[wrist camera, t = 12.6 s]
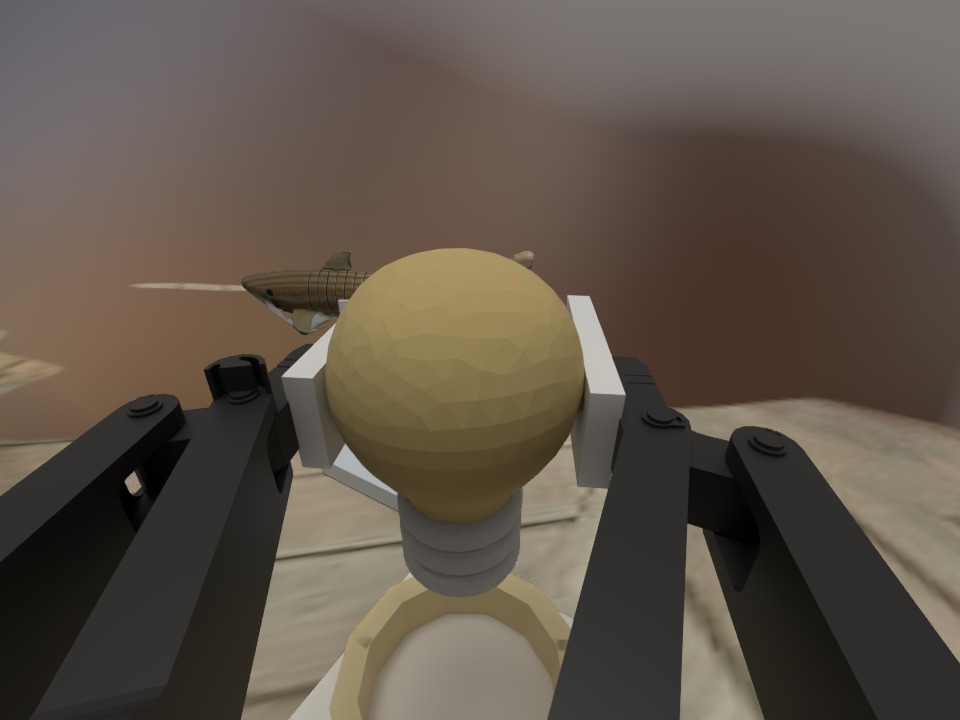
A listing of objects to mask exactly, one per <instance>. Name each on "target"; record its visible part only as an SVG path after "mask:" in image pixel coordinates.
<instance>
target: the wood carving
mask: <svg viewBox="0 0 960 720" xmlns="http://www.w3.org/2000/svg"><path fill="white" fill-rule="evenodd" d="M508 259H510V260H512V261H515V262H517V263H519V264H520V265H522V266H524V267H526V268H527V269H529V270H531V268H532V265H533V261H534V254H533V253H531V252H530V251H524V252H522V253H519V254H516V255H514V256H512V257H510V258H508ZM373 274H374V272H355V271H353V269H352V267H351V264H350V253H348V252H342V253H338V254H336V255H334V256H332V257H331V258H330V259H329V260H328V261H327V263H326V265H325V266H324V267H323V269H321V270H313V271H309V270H305V271H301V270H286V271H280V272H270V273H264V274H254V275H248V276H246V277H244V278H243V279H242V281H241V283H242V286H243V287H244V288H245V289H246V290H247V291H248V292H250V293H251V294H253V295H254V296H255V297H257V298H258V299H259V300H260V301H262V302H263V303H264V304H266V306H267V307H268V308H270V309H271V310H272V311H273V312H275V313H276V314H277V315H279V316H280V317H282V318H283V319H284V320H286V321H287V322H288V323H289V324H290V325H292V326H293V327H294V328H295V329H296V330H298V331H299V332H300V333H301V334H303V335H307V334H309V333H311V332H314V331H317V330H319V329H314V328H315V327H317V326H319V325H321V324H323V323H325V322H326V321H329V320H332V319H335V318H339V315H340V313H341V311H342V309H343V308H344V306H345V305H346V304H347V302H348V301H349V299H350V298H351V297H352V295H353V294H354V292H355V291H356V290H357V288H358V287H359V286H360V285H361V284H362V283H363V282H364V281H365V280H366V279H368V278H369V277H370V276H371V275H373ZM277 308H279V309H282V310H283V311H286V312H289V313H292V314H293V315H292V319H289V318H286V317H285V316H284V315H283V314H282V313H281V312H280V311H279V310H278V309H277Z"/></svg>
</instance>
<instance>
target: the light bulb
mask: <svg viewBox="0 0 960 720" xmlns="http://www.w3.org/2000/svg"><path fill="white" fill-rule="evenodd" d="M325 377H326V390H327V396H328V402H329V406H330V410H331V413H332V416H333V419H334V421H335V424H336V427H337V429H338V431H339V433H340V435H341V437H342V438H343V440H344V442H345V444H346V445H347V447H348V448H349V449H350V451H351V452H352V453H353V454H354V456H355V457H356V458H357V459H358V461H359V462H360V463H361V464H362V465H363V466H364V468H366V469H367V470H368V471H369V472H370V473H371V474H372V475H373V476H374V477H376V478H377V479H379V480H380V481H381V482H383V483H384V484H386V485H387V486H388V487H390V488H391V489H393V490H394V491H395V492H397V503H398V511H399V515H400V528H401V534H402V539H403V541H402V545H403V552H404V558H405V562H406V565H407V567H408V569H409V571H410V572H411V574H412V575H413V576H414V578H415V579H416V580H417V581H418V582H420V583H421V584H422V585H423V586H424V587H425V588H427V589H429V590H431V591H433V592H436V593H438V594H440V595H444V596H449V597H469V596H475V595H479V594H482V593H484V592H487V591H490V590H491V589H493V588H494V587H496V586H498V585H499V584H500V583H501V582H502V581H504V579H505V578H506V577H507V576H508V575H509V573H510V572H511V571H512V569H513V568H514V566H515V563H516V561H517V558H518V554H519V549H520V529H521V508H522V499H523V491H522V487H523V486H524V485H525V484H527V483H528V482H529V481H530V480H531V479H533V478H534V477H535V476H536V475H537V474H539V472H540V471H541V470H542V469H543V468H544V467H545V466H546V465H547V464H548V463H549V462H550V461H551V460H552V459H553V458H554V457H555V456H556V454H557V453H558V451H559V450H560V448H561V447H562V445H563V444H564V442H565V441H566V439H567V438H568V436H569V434H570V431H571V429H572V427H573V424H574V422H575V419H576V417H577V414H578V412H579V409H580V405H581V401H582V396H583V392H584V357H583V351H582V347H581V343H580V338H579V335H578V332H577V329H576V326H575V324H574V322H573V320H572V318H571V316H570V314H569V312H568V310H567V308H566V307H565V305H564V304H563V302H562V301H561V300H560V298H559V297H558V296H557V295H556V293H555V292H554V291H553V289H552V288H551V287H550V286H548V285H547V284H546V283H545V282H544V281H543V280H542V279H540V278H539V277H538V276H537V275H536V274H535V273H533V272H532V271H530V270H529V269H527V268H526V267H524V266H522V265H520V264H519V263H517V262H515V261H512V260H510V259H508V258H505V257H502V256H500V255H497V254H494V253H491V252H485V251H480V250H474V249H467V248H453V249H437V250H431V251H426V252H420V253H415V254H413V255H410V256H407V257H404V258H401V259H399V260H397V261H395V262H392V263H390V264H388V265H386V266H384V267H382V268H381V269H380V270H378V271H377V272H376V273H374V274H373V275H371V276H370V277H369V278H368V279H366V280H365V281H364V282H363V283H362V284H361V285H360V286H359V287H358V288H357V290H356V291H355V292H354V294H353V295H352V297H351V298H350V299H349V301H348V302H347V304H346V305H345V306H344V308H343V309H342V311H341V313H340V315H339V318H338V320H337V322H336V324H335V327H334V330H333V333H332V336H331V339H330V342H329V345H328V352H327V360H326V368H325Z"/></svg>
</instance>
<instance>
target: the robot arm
mask: <svg viewBox="0 0 960 720" xmlns="http://www.w3.org/2000/svg"><path fill="white" fill-rule="evenodd" d="M566 308H567V310H568V312H569V314H570V316H571V318H572V320H573V322H574V324H575V326H576V329H577V332H578V335H579V338H580V343H581V347H582V351H583V357H584V392H583V396H582V401H581V405H580V409H579V412H578V414H577V417H576V419H575V422H574V424H573V427H572V429H571V431H570V434H571V441H572V449H573V456H574V463H575V471H576V478H577V485H578V487H592V488H606V489H608V492H607V496H606V499H605V503H604V507H603V511H602V514H601V518H600V522H599V526H598V530H597V533H596V537H595V541H594V545H593V548H592V552H591V556H590V560H589V563H588V567H587V571H586V575H585V579H584V582H583V586H582V590H581V594H580V597H579V601H578V605H577V609H576V613H575V616H574V620H573V624H572V628H571V631H570V635H569V639H568V643H567V646H566V650H565V654H564V658H563V662H562V665H561V669H560V673H559V677H558V680H557V684H556V688H555V692H554V696H553V699H552V703H551V707H550V711H549V714H548V718H547V720H680V695H681V669H682V644H683V618H684V593H685V567H686V542H687V523H688V524H691V525H694V526H697V527H701V528H703V534H704V537H705V540H706V543H707V546H708V549H709V552H710V555H711V558H712V561H713V564H714V567H715V570H716V573H717V576H718V579H719V582H720V585H721V588H722V591H723V594H724V597H725V600H726V604H727V607H728V610H729V613H730V616H731V619H732V622H733V625H734V628H735V631H736V634H737V637H738V640H739V643H740V646H741V649H742V652H743V655H744V658H745V661H746V664H747V667H748V671H749V674H750V677H751V680H752V683H753V686H754V689H755V692H756V695H757V698H758V701H759V704H760V707H761V710H762V713H763V716H764V719H765V720H960V663H959V662H958V660H957V659H956V658H955V656H954V655H953V654H952V652H951V651H950V650H949V648H948V647H947V645H946V644H945V643H944V641H943V640H942V639H941V637H940V636H939V634H938V633H937V632H936V630H935V629H934V628H933V626H932V625H931V624H930V622H929V621H928V619H927V618H926V617H925V615H924V614H923V613H922V611H921V610H920V608H919V607H918V606H917V604H916V603H915V602H914V600H913V599H912V598H911V596H910V595H909V593H908V592H907V591H906V589H905V588H904V587H903V585H902V584H901V582H900V581H899V580H898V578H897V577H896V576H895V574H894V573H893V572H892V570H891V569H890V567H889V566H888V565H887V563H886V562H885V561H884V559H883V558H882V557H881V555H880V554H879V552H878V551H877V550H876V548H875V547H874V546H873V544H872V543H871V541H870V540H869V539H868V537H867V536H866V535H865V533H864V532H863V531H862V529H861V528H860V526H859V525H858V524H857V522H856V521H855V520H854V518H853V517H852V515H851V514H850V513H849V511H848V510H847V509H846V507H845V506H844V505H843V503H842V502H841V500H840V499H839V498H838V496H837V495H836V494H835V492H834V491H833V490H832V488H831V487H830V485H829V484H828V483H827V481H826V480H825V479H824V477H823V476H822V474H821V473H820V472H819V470H818V469H817V468H816V466H815V465H814V464H813V462H812V461H811V459H810V458H809V457H808V455H807V454H806V453H805V451H804V450H803V449H802V448H801V447H800V446H799V445H798V444H797V443H796V442H795V441H794V440H792V439H790V438H789V437H787V436H785V435H783V434H782V433H780V432H777V431H774V430H772V429H768V428H761V427H756V426H744V427H741V428H738V429H735V431H734V432H733V433H732V435H731V438H730V441H726V440H722V439H718V438H714V437H710V436H706V435H703V434H699V433H696V432H694V431H692V430H691V426H690V423H689V420H688V419H687V418H686V417H685V416H684V415H683V414H681V413H679V412H678V411H676V410H674V409H672V408H669V407H667V405H666V403H665V401H664V399H663V397H662V395H661V393H660V391H659V389H658V388H657V386H656V385H655V381H654V379H653V378H652V376H651V374H650V372H649V369H648V367H647V366H646V365H644V364H643V363H642V362H641V361H639V360H638V359H636V358H635V357H634V358H633V357H612V356H611V353H610V351H609V348H608V345H607V343H606V340H605V337H604V335H603V332H602V329H601V326H600V324H599V321H598V318H597V316H596V313H595V310H594V307H593V305H592V302H591V299H590V297H589V296H568V297H567V307H566ZM335 324H336V323H335ZM335 324H334V325H333V326H332V327H331V328H330V329H329V330H328V331H327V332H326V333H325V334H324V335H323V336H322V337H321V338H320V339H319V340H318V341H317V342H316V343H315V344H306V345H304V346H302V347H300V348H298V349H296V350H294V351H292V352H291V353H290V354H289V355H288V356H287V357H286V358H285V359H284V361H281V362H280V363H279V364H278V365H277V368H274V369H273V370H272V371H270V372H269V373H268V371H267V367H266V363H265V359H263V358H262V357H261V356H257V355H252V354H249V355H248V354H242V355H235V356H230V357H227V358H223V359H220V360H217V361H215V362H213V363H212V364H210V365H208V366H207V367H206V368H205V369H204V372H205V375H206V379H207V382H208V385H209V388H210V391H211V394H212V397H213V402H212V403H211V405H210V407H209V408H201V409H193V410H185V411H183V410H182V408H181V405H180V403H179V400H178V398H176V397H175V396H173V395H167V394H159V395H154V394H153V395H147V396H146V397H145V396H143V397H139V398H137V399H136V400H134V401H131V402H129V403H127V404H125V405H123V406H121V407H120V408H118V409H117V410H115V411H114V412H113V413H111V414H110V415H109V416H107V417H106V418H105V419H103V420H102V421H101V422H99V423H98V424H97V425H95V426H94V427H92V428H91V429H90V430H88V431H87V432H86V433H84V434H83V435H82V436H80V437H79V438H78V439H76V440H75V441H74V442H72V443H71V444H70V445H68V446H67V447H66V448H64V449H63V450H62V451H60V452H59V453H58V454H56V455H55V456H54V457H52V458H51V459H50V460H48V461H47V462H46V463H44V464H43V465H42V466H40V467H39V468H38V469H36V470H35V471H33V472H32V473H31V474H29V475H28V476H27V477H25V478H24V479H23V480H21V481H20V482H19V483H17V484H16V485H15V486H13V487H12V488H11V489H9V490H8V491H7V492H5V493H4V494H3V495H1V496H0V720H241V716H242V711H243V706H244V702H245V697H246V692H247V688H248V683H249V678H250V674H251V669H252V665H253V660H254V655H255V651H256V646H257V641H258V637H259V632H260V627H261V623H262V618H263V613H264V609H265V604H266V599H267V595H268V590H269V585H270V581H271V576H272V571H273V567H274V562H275V558H276V553H277V548H278V544H279V539H280V534H281V530H282V525H283V520H284V516H285V511H286V506H287V502H288V497H289V492H290V488H291V483H292V478H293V470H292V466H291V462H290V460H291V459H292V458H293V456H294V455H295V454H296V452H297V451H298V450H299V454H300V458H301V462H302V467H310V468H324V469H331V467H332V465H333V464H334V462H335V460H336V459H337V457H338V455H339V454H340V452H341V450H342V448H343V447H344V445H345V442H344V440H343V438H342V437H341V435H340V433H339V431H338V429H337V427H336V424H335V421H334V419H333V416H332V413H331V410H330V406H329V402H328V396H327V390H326V377H325V368H326V360H327V352H328V345H329V342H330V339H331V336H332V333H333V330H334V327H335ZM133 471H135V473H136V475H137V477H138V480H139V482H140V484H141V486H142V487H141V488H140V489H139V490H138V491H137V492H136V493H135V494H133V495H132V494H131V493H130V492H129V490H128V488H127V486H126V484H125V482H124V481H125V480H126V478H127V477H128V476H129V475H130V474H131V473H132V472H133ZM611 474H612V477H611ZM610 479H611V480H610Z"/></svg>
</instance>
